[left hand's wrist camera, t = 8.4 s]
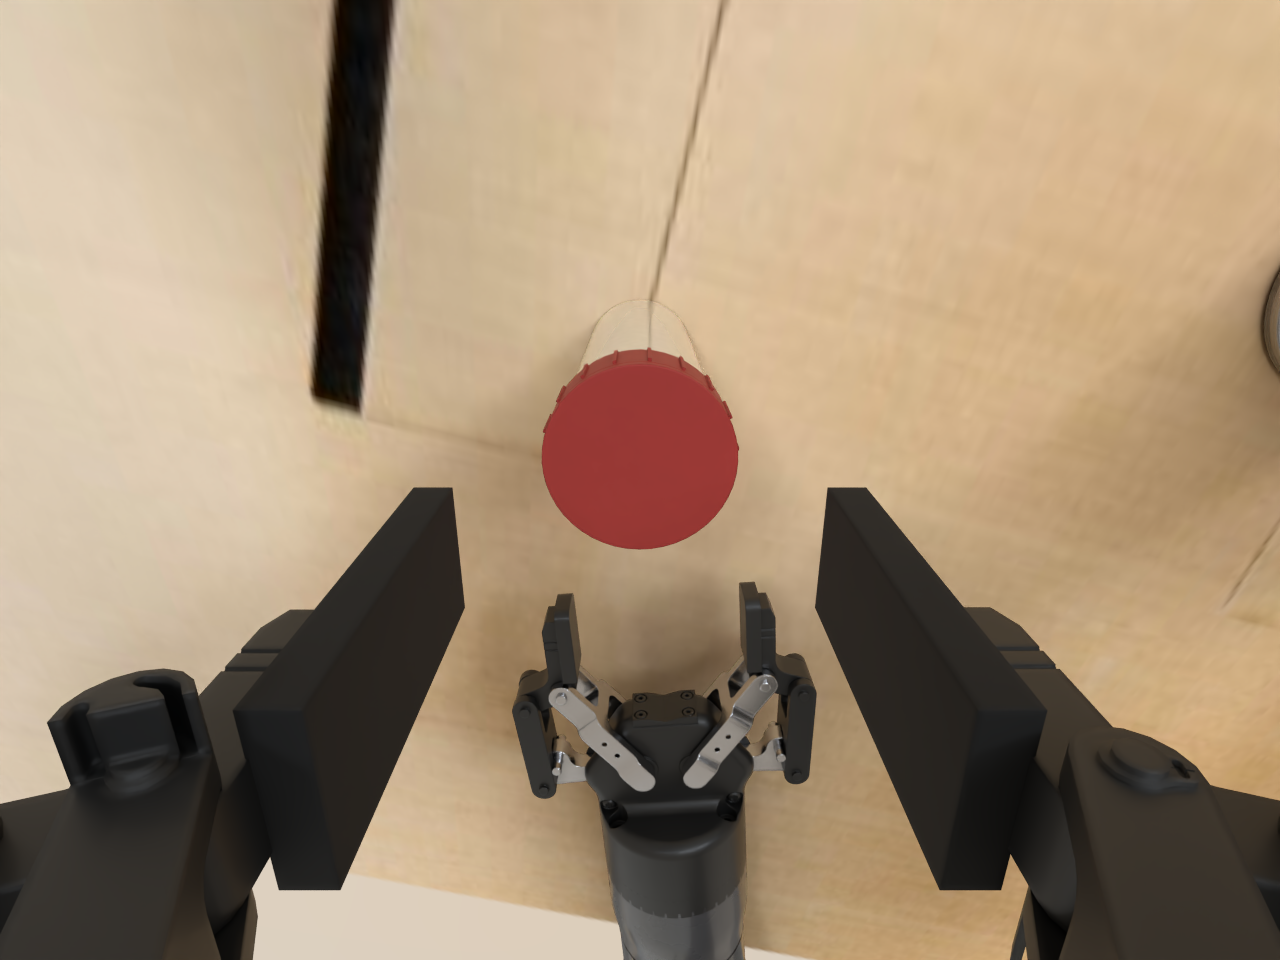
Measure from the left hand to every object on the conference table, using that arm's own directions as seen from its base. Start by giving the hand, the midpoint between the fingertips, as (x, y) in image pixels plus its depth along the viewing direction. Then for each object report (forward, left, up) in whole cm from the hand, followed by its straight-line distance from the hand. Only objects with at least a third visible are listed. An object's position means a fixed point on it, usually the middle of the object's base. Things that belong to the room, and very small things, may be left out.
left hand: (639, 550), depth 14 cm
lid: (0, 0, -6) cm, 6 cm away
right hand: (+8, -6, -15) cm, 18 cm away
